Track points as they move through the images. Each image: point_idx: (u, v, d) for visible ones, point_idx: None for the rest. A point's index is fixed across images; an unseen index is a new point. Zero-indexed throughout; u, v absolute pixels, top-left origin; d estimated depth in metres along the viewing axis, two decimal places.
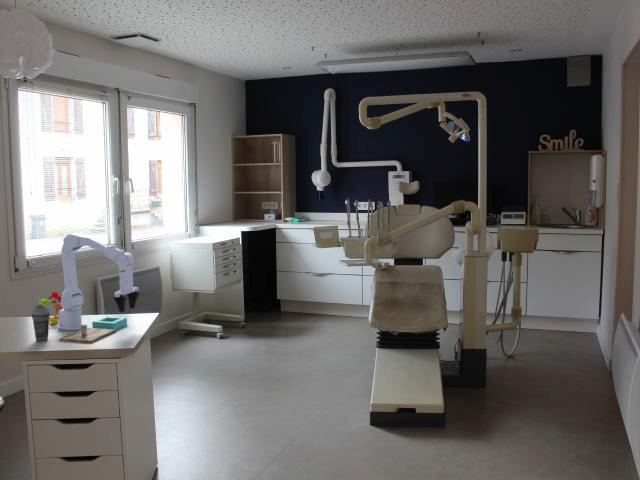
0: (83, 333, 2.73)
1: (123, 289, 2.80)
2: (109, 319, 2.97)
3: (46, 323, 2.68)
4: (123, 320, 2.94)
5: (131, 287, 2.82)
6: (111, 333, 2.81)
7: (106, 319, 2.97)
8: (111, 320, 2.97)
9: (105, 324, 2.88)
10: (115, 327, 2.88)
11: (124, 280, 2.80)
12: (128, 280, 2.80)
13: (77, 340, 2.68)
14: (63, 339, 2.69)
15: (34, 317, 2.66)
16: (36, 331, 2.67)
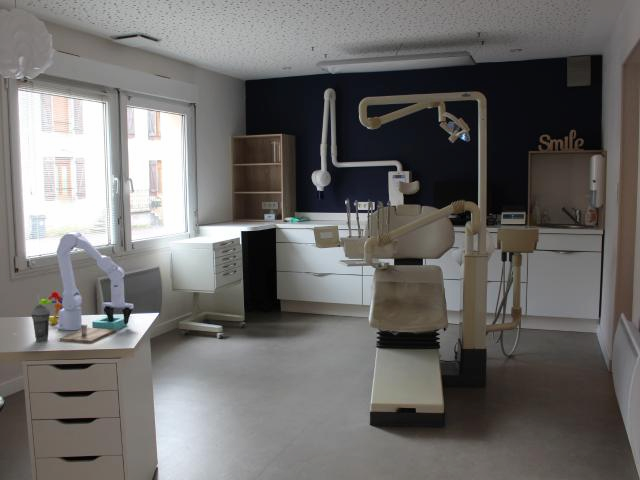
0: (83, 333, 2.73)
1: None
2: None
3: (46, 323, 2.68)
4: (123, 320, 2.94)
5: (114, 302, 2.88)
6: (111, 333, 2.81)
7: (106, 319, 2.97)
8: None
9: (105, 324, 2.88)
10: (115, 327, 2.88)
11: (117, 294, 2.88)
12: (111, 294, 2.89)
13: (77, 340, 2.68)
14: (63, 339, 2.69)
15: (34, 317, 2.66)
16: (36, 331, 2.67)
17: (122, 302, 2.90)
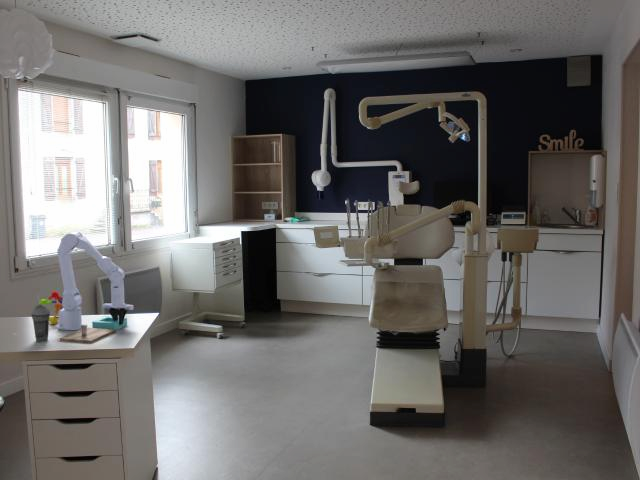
0: (83, 333, 2.73)
1: None
2: (109, 319, 2.97)
3: (46, 323, 2.68)
4: None
5: (114, 303, 2.89)
6: (111, 333, 2.81)
7: (106, 319, 2.97)
8: (111, 320, 2.97)
9: (105, 324, 2.88)
10: (115, 327, 2.88)
11: (117, 295, 2.88)
12: (111, 295, 2.89)
13: (77, 340, 2.68)
14: (63, 339, 2.69)
15: (34, 317, 2.66)
16: (36, 331, 2.67)
17: (122, 303, 2.90)
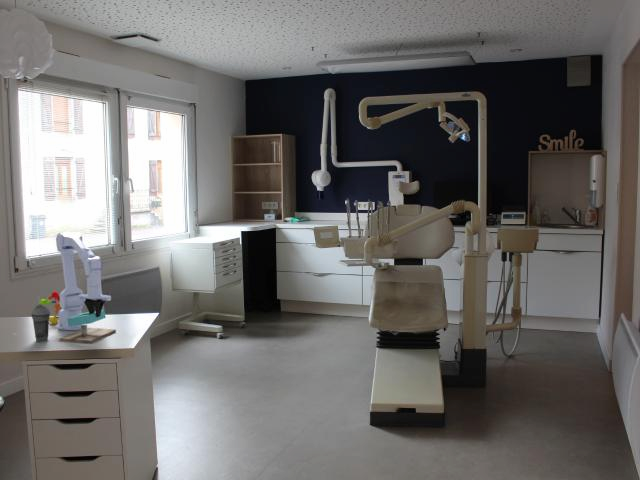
0: (83, 333, 2.73)
1: None
2: (86, 315, 2.79)
3: (46, 323, 2.68)
4: None
5: (90, 293, 2.70)
6: (111, 333, 2.81)
7: (83, 315, 2.78)
8: None
9: (81, 318, 2.69)
10: (92, 319, 2.69)
11: (88, 285, 2.70)
12: (87, 285, 2.70)
13: (77, 340, 2.68)
14: (63, 339, 2.69)
15: (34, 317, 2.66)
16: (36, 331, 2.67)
17: (99, 294, 2.71)
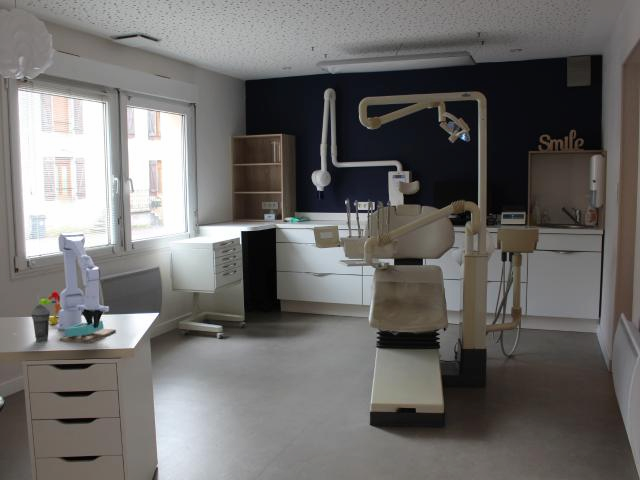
0: None
1: None
2: None
3: (46, 323, 2.68)
4: None
5: (88, 304, 2.69)
6: (111, 333, 2.81)
7: None
8: None
9: (78, 329, 2.68)
10: (90, 330, 2.68)
11: (86, 296, 2.69)
12: (85, 296, 2.69)
13: (77, 340, 2.68)
14: (63, 339, 2.69)
15: (34, 317, 2.66)
16: (36, 331, 2.67)
17: (97, 304, 2.70)
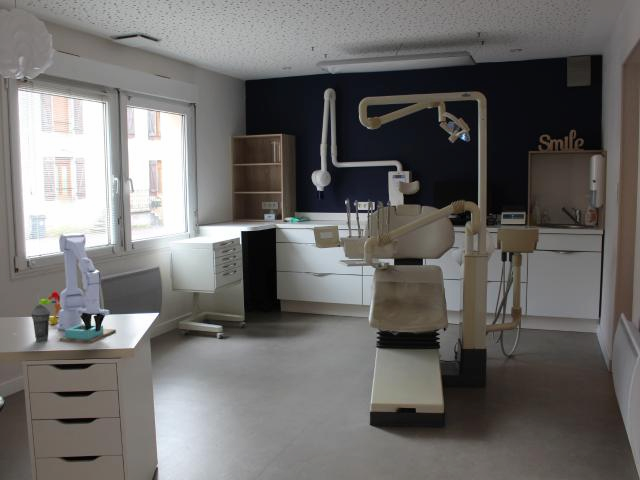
0: None
1: None
2: None
3: (46, 323, 2.68)
4: None
5: (88, 308, 2.69)
6: (111, 333, 2.81)
7: (81, 327, 2.77)
8: None
9: (79, 332, 2.68)
10: (90, 336, 2.68)
11: (86, 300, 2.69)
12: (85, 300, 2.69)
13: (77, 340, 2.68)
14: (63, 339, 2.69)
15: (34, 317, 2.66)
16: (36, 331, 2.67)
17: (97, 308, 2.70)
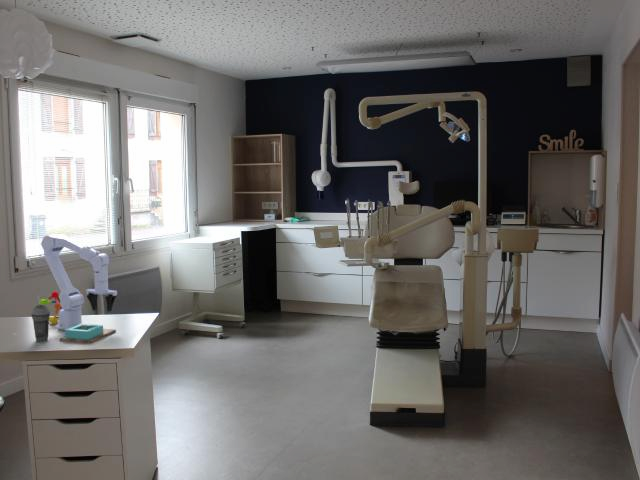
0: None
1: None
2: None
3: (46, 323, 2.68)
4: (99, 328, 2.75)
5: (97, 288, 2.82)
6: (111, 333, 2.81)
7: (81, 327, 2.77)
8: None
9: (79, 332, 2.68)
10: (90, 336, 2.68)
11: (98, 281, 2.81)
12: (94, 280, 2.82)
13: (77, 340, 2.68)
14: (63, 339, 2.69)
15: (34, 317, 2.66)
16: (36, 331, 2.67)
17: (105, 289, 2.83)
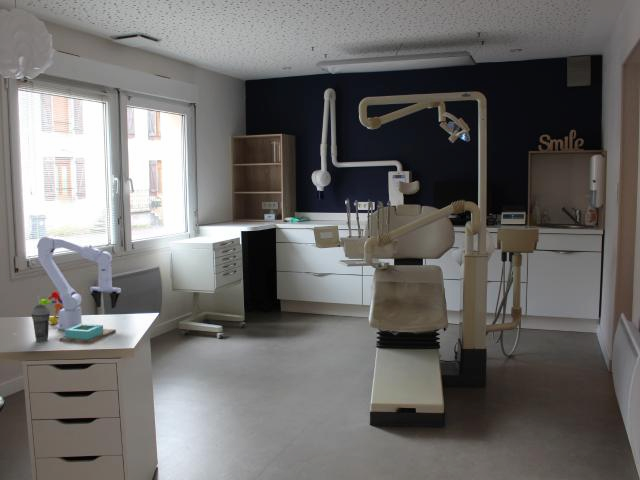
0: None
1: None
2: None
3: (46, 323, 2.68)
4: (99, 328, 2.75)
5: (101, 286, 2.88)
6: (111, 333, 2.81)
7: (81, 327, 2.77)
8: None
9: (79, 332, 2.68)
10: (90, 336, 2.68)
11: (105, 278, 2.88)
12: (99, 278, 2.88)
13: (77, 340, 2.68)
14: (63, 339, 2.69)
15: (34, 317, 2.66)
16: (36, 331, 2.67)
17: (109, 286, 2.89)
